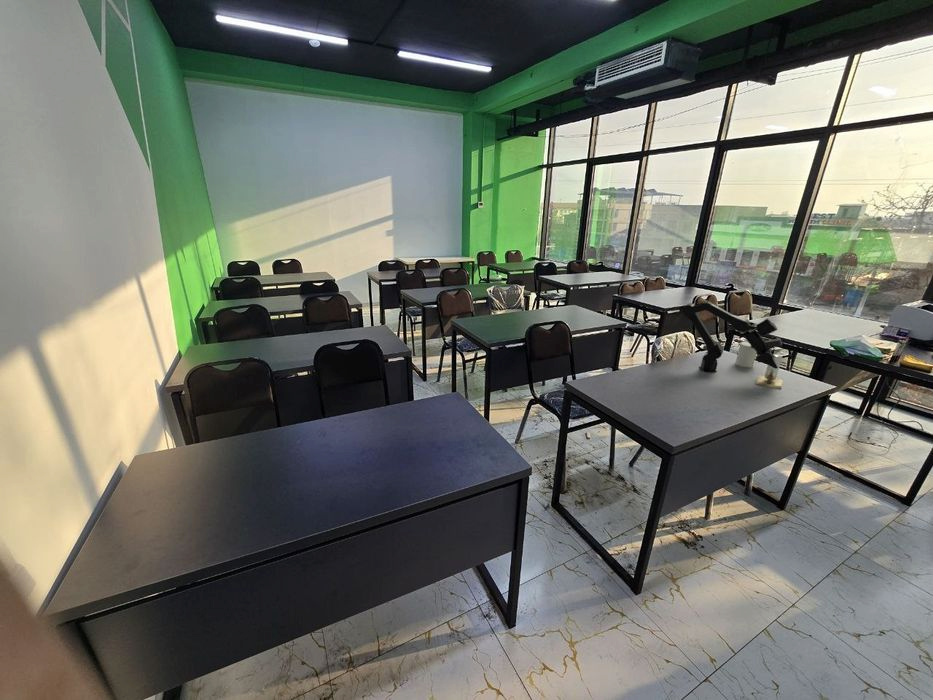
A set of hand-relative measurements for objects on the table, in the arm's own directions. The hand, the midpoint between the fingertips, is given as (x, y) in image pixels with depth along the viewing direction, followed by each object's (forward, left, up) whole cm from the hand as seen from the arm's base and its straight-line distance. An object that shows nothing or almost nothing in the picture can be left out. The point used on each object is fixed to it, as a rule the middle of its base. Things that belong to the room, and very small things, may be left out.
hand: (777, 366), depth 193 cm
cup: (0, +26, -9) cm, 27 cm away
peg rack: (-1, +1, -9) cm, 9 cm away
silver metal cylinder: (-1, +1, -7) cm, 7 cm away
